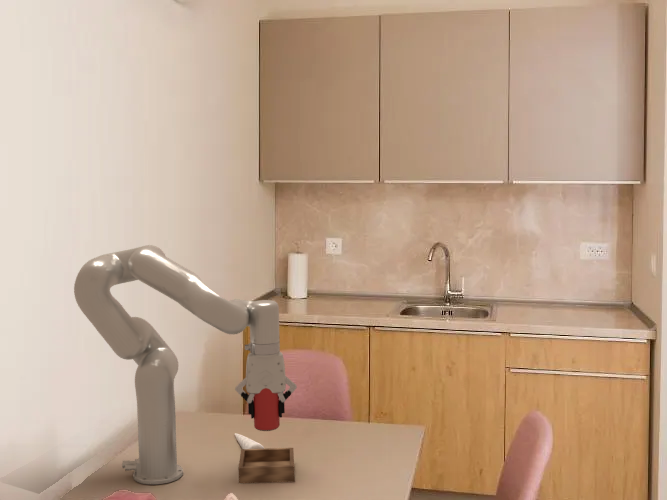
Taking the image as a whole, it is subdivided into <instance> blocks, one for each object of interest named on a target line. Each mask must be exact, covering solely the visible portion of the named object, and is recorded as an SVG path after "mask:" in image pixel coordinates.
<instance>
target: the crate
mask: <svg viewBox="0 0 667 500" xmlns="http://www.w3.org/2000/svg"><path fill="white" fill-rule="evenodd" d="M292 482H295V454H294V447H272V448H271V447H270V448H266V447H264V449H242V448H241V449H240V455H239V463H238V484H239V483H243V484H267V483H269V484H271V483H292Z"/></svg>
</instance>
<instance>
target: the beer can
mask: <svg viewBox="0 0 667 500" xmlns="http://www.w3.org/2000/svg"><path fill="white" fill-rule="evenodd" d="M266 386H267V385H266ZM279 400H280V398H279V396H278V393H276V394H275V393H272V391H271V390H270V389H267V388H264V389H262V390H261V391H260V393H259V394H254V397H253V401H254V418H253V426H254V428H255V430H257V431H259V432H260V431H261V432H271V431H274V430H277V429H279V427H280V421H281V420H280V417H279Z"/></svg>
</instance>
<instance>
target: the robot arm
mask: <svg viewBox="0 0 667 500" xmlns="http://www.w3.org/2000/svg"><path fill="white" fill-rule="evenodd" d="M75 277H76V278H75V281H74V283H73V284H74V286H73V292H74V298H75V302H76V303H77V306H78V307H79V309H80V310H81V312H82V314H83V315H84V316H85V317H86V319H87V320H88V321H89V322H90V323H91V324H92V325H93V327H94V328H95V330H96V331H97V332H98V333H99V335H100V336H101V337H102V338H103V340H104V341H105V342H106V343H107V344H108V346H109V347H110V348H111V350H112V351H113V352H114V354H115V355H116V356H117V357H119V358H120V359H123V360H126V361H127V360H133V362H135V363H136V365H137V368H136V369H135V370H136V371H135V375H134V388H135V397H136V410H137V435H138V436H137V437H138V458H135V459H134V460H131V459H130V460H122V462H121V463H122V464H121V467H122V469H124V470H125V472H127V471H133V474H132V476H133V477H132V478H133V480H134V481H135V482H137V483H139V484H143V485H162V484H163V485H164V484H167V483H171V482H174V481H177V480H179V479H181V477H182V476H183V474H184V469H183V467H182V466H180V465H179V464H178V459H177V458H178V457H177V456H178V455H177V453H178V452H177V422H176V421H177V420H176V419H177V418H176V416H177V415H176V398H175V396H176V395H175V379H176V375H177V373H178V371H179V361H178V357H177V355H176V354H175V352H174V350H172V348H171V347H170V346H169V345H168V344H167V342H166V341H165V340H164V339H163V337H162V336H161V335H160V334H159V333H158V332H157V330H156V329H155V328H154V327H153V325H152V324H151V323H149V322H148V320H146V319H144V318H142V317H138V316H131V315H130V314H129V312H128V311H127V310H126V309H125V308H124V306H123V305H122V304H121V303H120V301H118V300H117V299H116V298H115V297H114V296H113V295H112V293H111V288H112V287H114V286H116V285H120V284H125V283H131V282H135V281H140V282H142V283H143V284H145V285H146V286H148V287H150V288H152V289H153V290H155V291H157V292H159V293H160V294H163V296H166V297H168V298H170V299H171V300H173V301H174V302H176V303H178V304H179V305H180V306H181V307H183V308H184V309H185V310H187V311H188V312H190V313H191V314H193V315H194V316H195V317H197V318H198V319H200V320H201V321H202V322H204V323H206V324H208V325H210V326H212V327H213V328H215V329H217V330H218V331H221V332H223V333H225V334H227V335H238V334H240V333H242V332H243V331H244V330H245V329H246V327H249V341H250V342H249V343H247V344H244V350H245V351H249V353H248V354H247V356H246V357H247V358H246V363H245V364H246V365H245V366H246V367H245V378H243V380H241V381H240V382H239V383H238V384H237V385H236V386H235V388H234V390H235V391H236V393H238V395H240V396H241V397H242V399H243V400H245V401H246V403H247V405H248V406H247V408H248V410H247V412H248V415H250V419H254V398H253V397H254V394H259V393H260V391H261V390H262V389H264V388H267V389H270V390H271V391H272V393H275V394H276V393H278V396H279V418H283V414H285V402H286V401H287V399H288V398H289V397H290V396H292V394H293V393H294V392H295V390H296V389H297V388H298V387H297V384H296V383H295V382H293V380H291V379H290V378H289V377H288V376H286V365H285V364H286V363H285V359H284V353H283V352H282V351H281V349H280V348H281V345H280V340H281V339H280V307H279V303H278V302H277V301H275V300H271V299H262V300H246V299H236V298H235V299H230V300H228V299H227V298H225V297H222V296H221V295H219V294H218V293H216V292H215V291H213V290H212V289H211V288H209V287H208V286H207V285H206V284H205V283H204V282H203V280H202V279H201V278H200V277H199V275H197V274H196V273H195V272H194V271H191V270H190V269H188V268H187V267H185V266H183V265H181V264H179V263H178V262H176V261H174V260H172V259H171V258H169V257H167V256H166V253H165V252H164V251H163V250H162V248H160V247H158V246H155V245H153V244H151V245H150V244H148V245H143V246H138V247H134V248H131V249H125V250H121V251H120V250H119V251H115V252H114V251H113V252H110V253H105V254H101V255H99V256H96V257H94V258H91V259H90V260H88V261H87V262H85V263H84V264H83V265H82V267H81V268H80V270H78V273H77V275H76V276H75ZM266 385H267V386H266ZM286 385H287V386H289V388H288V389H287V390H286ZM244 387H245V390H246V391H245V390H244V389H243V388H244ZM285 390H286V391H285Z"/></svg>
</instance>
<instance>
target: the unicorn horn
mask: <svg viewBox="0 0 667 500" xmlns="http://www.w3.org/2000/svg"><path fill="white" fill-rule="evenodd" d="M234 436H235V439H236V440H237V442H238V444H239V445H240V447H241V449H265V447H264V445H262V444H261V443H259V442H257V441H255V440H253V439H251V438H250V437H247V436H244V435H243V434H239V433H237V432H236V433H234Z"/></svg>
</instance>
